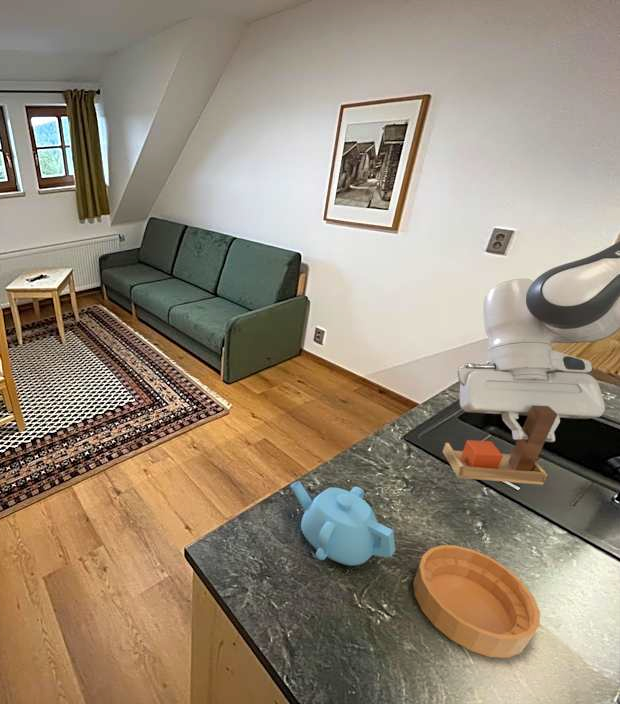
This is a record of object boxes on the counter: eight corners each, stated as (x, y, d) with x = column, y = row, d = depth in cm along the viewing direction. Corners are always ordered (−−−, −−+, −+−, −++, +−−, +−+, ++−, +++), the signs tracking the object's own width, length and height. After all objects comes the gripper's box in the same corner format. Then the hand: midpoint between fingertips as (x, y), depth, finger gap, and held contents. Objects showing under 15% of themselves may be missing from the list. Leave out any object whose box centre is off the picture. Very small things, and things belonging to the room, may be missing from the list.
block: (461, 455, 77) (466, 439, 75) (485, 457, 76) (491, 441, 74) (470, 470, 74) (477, 454, 72) (496, 472, 73) (503, 456, 71)
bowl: (463, 556, 74) (472, 536, 72) (553, 643, 61) (567, 622, 59) (392, 576, 72) (398, 557, 69) (469, 672, 59) (480, 652, 56)
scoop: (442, 451, 79) (460, 395, 73) (520, 457, 76) (545, 398, 70) (458, 477, 73) (479, 418, 67) (543, 484, 70) (573, 423, 64)
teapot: (404, 544, 77) (418, 501, 72) (368, 606, 68) (381, 562, 62) (307, 490, 91) (312, 450, 86) (266, 535, 81) (269, 494, 76)
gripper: (465, 358, 73) (475, 434, 69) (602, 362, 68) (621, 444, 65) (448, 367, 79) (456, 437, 75) (574, 371, 74) (589, 447, 70)
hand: (534, 440), depth 70 cm, fingers closed on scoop, 2 cm apart
